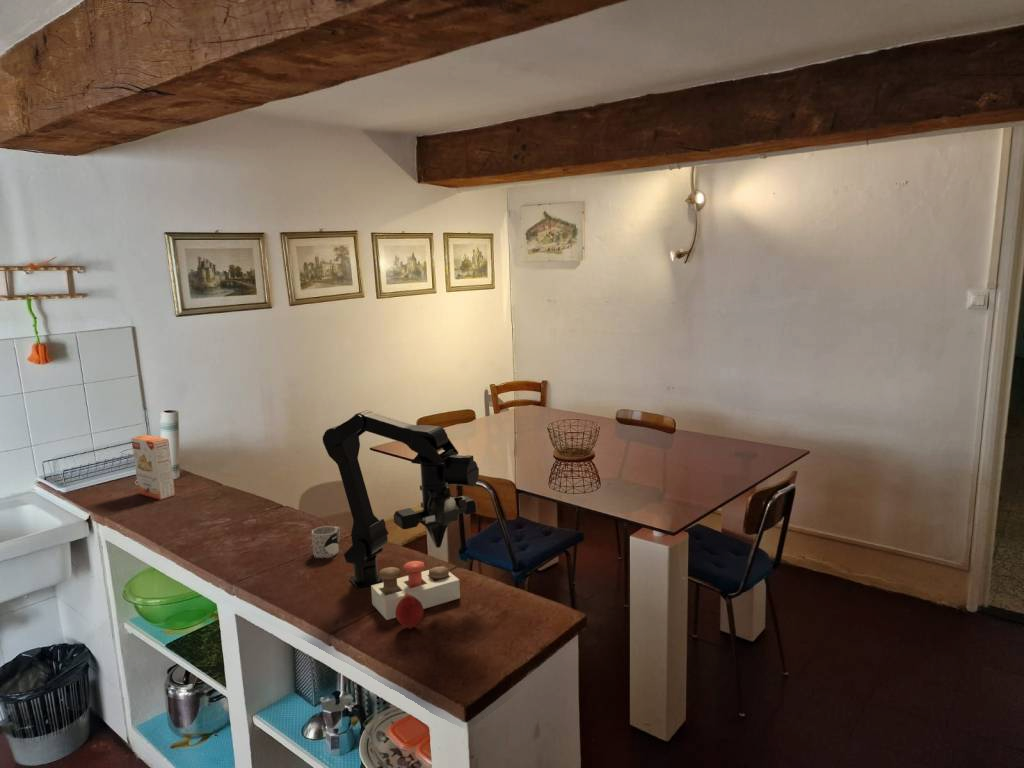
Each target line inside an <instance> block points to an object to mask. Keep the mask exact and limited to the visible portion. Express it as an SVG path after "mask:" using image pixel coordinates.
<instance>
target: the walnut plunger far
mask: <svg viewBox="0 0 1024 768" xmlns="http://www.w3.org/2000/svg"><path fill="white" fill-rule="evenodd" d="M428 570H429V576H430V577H432V578H433V581H439V580H442V579H446V576H448V574H449V572H450V570H449V568H448V567H445V566H443V567H441V566H433V567H432V568H430V569H428Z"/></svg>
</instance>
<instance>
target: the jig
mask: <svg viewBox="0 0 1024 768" xmlns="http://www.w3.org/2000/svg"><path fill="white" fill-rule="evenodd" d="M440 567H444V566H443V565H442V566H440ZM429 570H430V569H427V570H422V571H421V575H422V585H421V586H417V587H414V588H409V579H408V575H404V576H401V577H397V590H398V592H396V593H393V594H389V595H386V596H385V595H384V584H383V582H380V583H377V584H373V585H370V592H371V604H372V606H373V607H374V608H375V609H376V610H377V611H378V612H379V613H380V615H381V616H382V617H383V618H384V619H385V621H389V620H392V619H395V618H396V614H395V613H396V607H397V605H398V603H399V602H400V600H401V599H402V598H404V597H405V593H409V594H410V595H412V596H413V597H415V598H416V599H418V600H419V601H420V602H421V604H422V606H423V610H425V609H428V608H431V607H434V606H438V605H441V604H445V603H448V602H450V601H454V600H458V599H460V598H461V589H460V578H458V577H457V576H455V575H454V574H453V573H452V572H450V571H449V574H448V576H446V579H442V580H439V581H433V578H432V577H430V576H429Z"/></svg>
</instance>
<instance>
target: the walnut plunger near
mask: <svg viewBox="0 0 1024 768" xmlns="http://www.w3.org/2000/svg"><path fill="white" fill-rule="evenodd" d="M378 575H379V577H380V578H381V579H383V582H382V583H383V584H384V595H385V596H386V595H389V594H393V593H396V592H398V590H397V578H399V577H400V575H401V571H400V568H398V567H394V566H391V567H389V566H388V567H383V568H382V569H380V570H379V571H378Z"/></svg>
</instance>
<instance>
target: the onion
mask: <svg viewBox="0 0 1024 768" xmlns="http://www.w3.org/2000/svg"><path fill="white" fill-rule="evenodd" d="M395 614H396V617H395V618H396V620H397V622H399V624H401V625H402V626H403V627H405V628H407V629H409V630H410V629H411V630H412V628H414V627H416V626H417V625H418V624H419V623H420V622H421V621H422V618H423V616H424V609H423V606H422V604H421V602H420V601H419V600H418V599H416V598H415V597H413V596H412V595H410V594H409V593H405V597H404V598H402V599H401V600H400V602H399V603H398V605H397V607H396V613H395Z"/></svg>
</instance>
